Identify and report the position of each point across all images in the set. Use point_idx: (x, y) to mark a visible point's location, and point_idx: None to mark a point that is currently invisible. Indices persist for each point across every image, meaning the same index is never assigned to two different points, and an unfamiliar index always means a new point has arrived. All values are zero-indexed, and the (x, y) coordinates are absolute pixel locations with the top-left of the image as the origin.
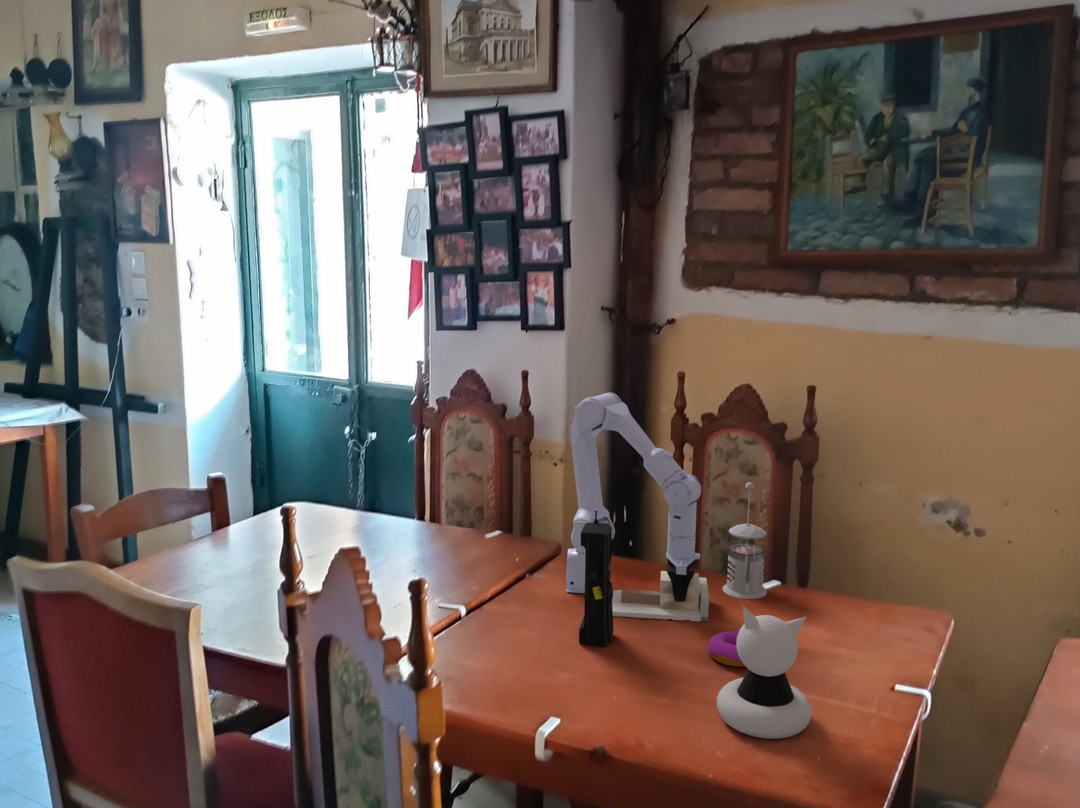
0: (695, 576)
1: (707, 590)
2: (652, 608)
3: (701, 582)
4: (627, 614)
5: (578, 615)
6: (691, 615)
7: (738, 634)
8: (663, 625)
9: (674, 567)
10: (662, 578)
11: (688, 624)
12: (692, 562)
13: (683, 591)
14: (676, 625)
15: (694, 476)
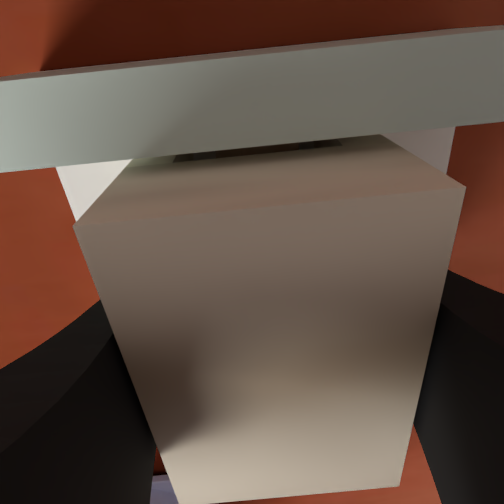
0: (222, 256)
1: (335, 52)
2: None
3: (96, 143)
4: None
5: (385, 496)
6: (437, 156)
7: None
8: (484, 276)
9: (136, 486)
10: (353, 483)
11: (482, 159)
12: (22, 438)
13: None
14: (490, 220)
15: None
